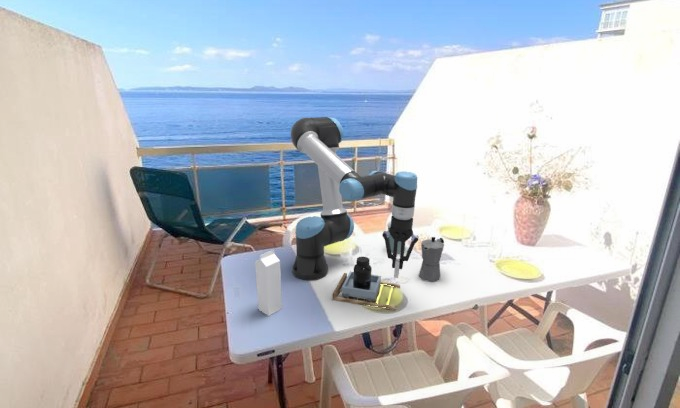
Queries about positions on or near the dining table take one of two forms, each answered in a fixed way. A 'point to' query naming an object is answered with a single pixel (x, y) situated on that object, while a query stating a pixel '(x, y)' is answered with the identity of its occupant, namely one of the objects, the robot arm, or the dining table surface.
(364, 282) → the supplement bottle
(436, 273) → the coffeepot
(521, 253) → the dining table surface
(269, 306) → the milk
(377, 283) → the shallow square tray
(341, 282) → the wooden rack
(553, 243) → the dining table surface
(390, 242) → the disposable coffee cup
